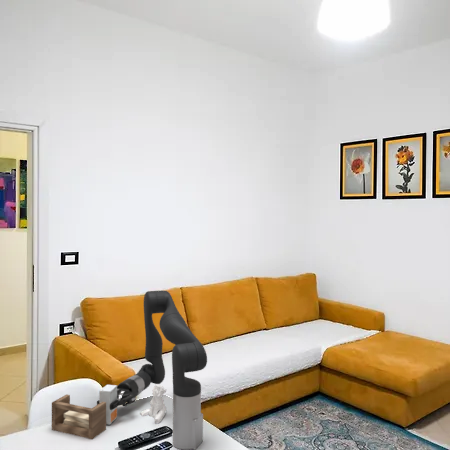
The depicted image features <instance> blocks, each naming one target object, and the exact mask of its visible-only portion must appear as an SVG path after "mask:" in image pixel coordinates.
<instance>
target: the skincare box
mask: <svg viewBox="0 0 450 450" xmlns="http://www.w3.org/2000/svg"><path fill="white" fill-rule="evenodd" d="M117 386H118V385H115V384H106V385H105V386H103V387H102V388H101V389H100V390H99V393H98V394H99V395H98V397H99V398H98V400H99V403H101V402H106V425H111V424H112V423H113V422H114V421H115V420H116V419H117V418H118V406H117V407H116V408H114V409H113V410H110V403H112V402H113V401H115V400H117Z"/></svg>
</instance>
